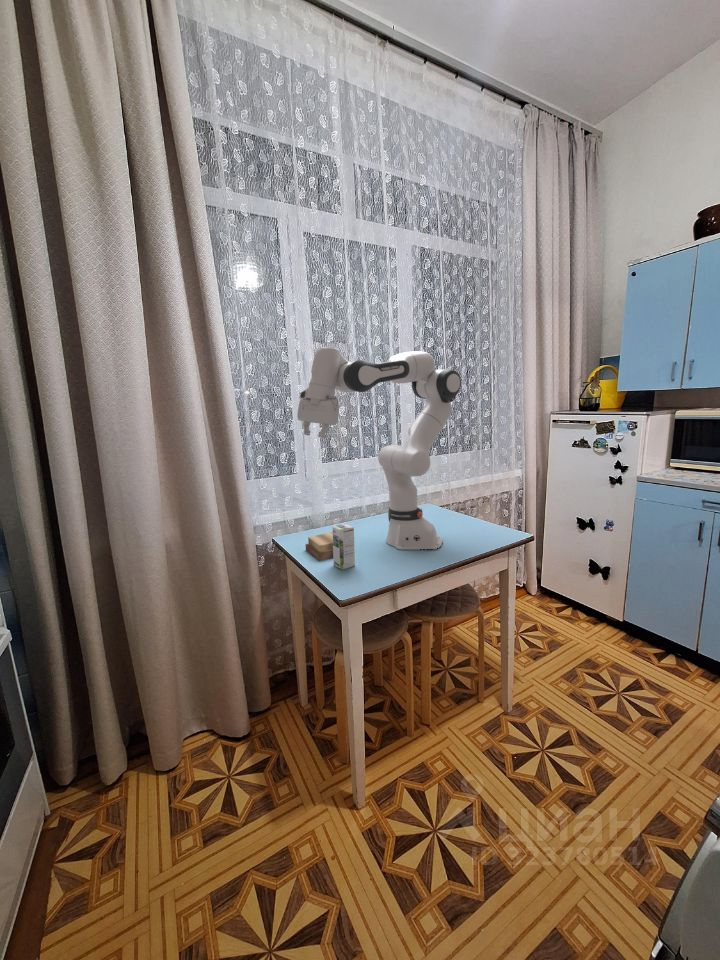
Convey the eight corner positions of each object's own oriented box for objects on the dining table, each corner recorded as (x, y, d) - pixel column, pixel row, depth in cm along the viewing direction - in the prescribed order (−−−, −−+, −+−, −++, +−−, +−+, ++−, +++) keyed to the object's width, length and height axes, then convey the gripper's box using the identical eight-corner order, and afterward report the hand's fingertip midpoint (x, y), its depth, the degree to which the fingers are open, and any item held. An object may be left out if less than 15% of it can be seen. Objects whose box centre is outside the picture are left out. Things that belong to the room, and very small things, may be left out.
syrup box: (333, 564, 139) (331, 526, 136) (346, 560, 143) (345, 522, 140) (341, 570, 135) (339, 530, 132) (355, 565, 138) (354, 526, 135)
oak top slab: (333, 538, 158) (333, 531, 158) (346, 547, 149) (346, 539, 148) (308, 544, 153) (308, 537, 153) (319, 553, 144) (319, 545, 143)
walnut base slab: (335, 544, 160) (335, 537, 160) (350, 554, 149) (350, 547, 149) (305, 551, 154) (305, 544, 153) (319, 562, 143) (319, 555, 142)
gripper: (346, 398, 126) (339, 440, 127) (312, 397, 141) (306, 435, 142) (330, 393, 122) (323, 438, 123) (297, 393, 137) (291, 432, 138)
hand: (313, 436), depth 133 cm, fingers open, 8 cm apart
